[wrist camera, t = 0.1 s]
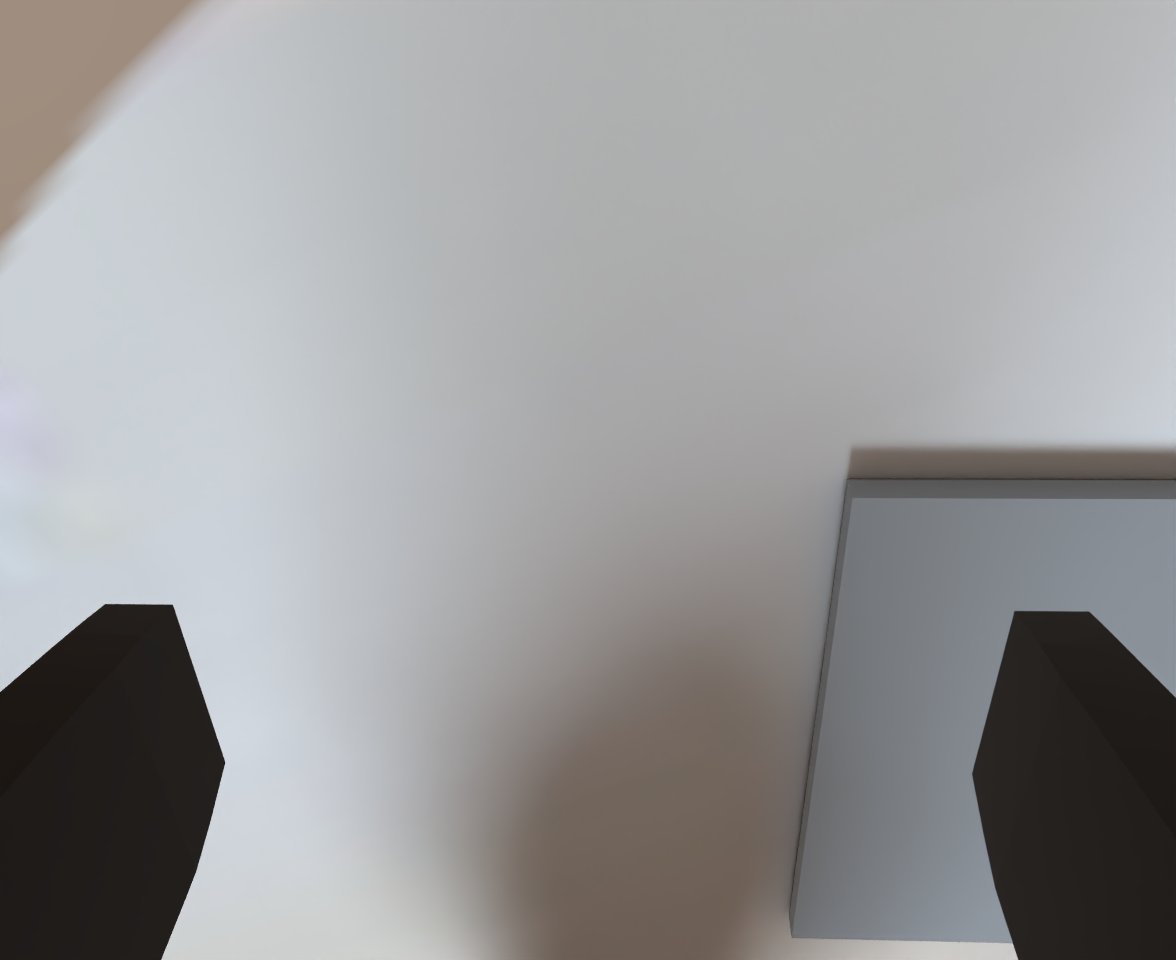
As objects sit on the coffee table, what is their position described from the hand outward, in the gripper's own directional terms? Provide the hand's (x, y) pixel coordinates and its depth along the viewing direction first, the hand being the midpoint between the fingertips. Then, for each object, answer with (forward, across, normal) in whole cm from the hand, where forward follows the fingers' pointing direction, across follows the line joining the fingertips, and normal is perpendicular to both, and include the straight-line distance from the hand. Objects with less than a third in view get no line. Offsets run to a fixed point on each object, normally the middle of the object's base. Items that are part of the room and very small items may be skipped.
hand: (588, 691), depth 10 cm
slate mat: (+10, -10, +12) cm, 18 cm away
